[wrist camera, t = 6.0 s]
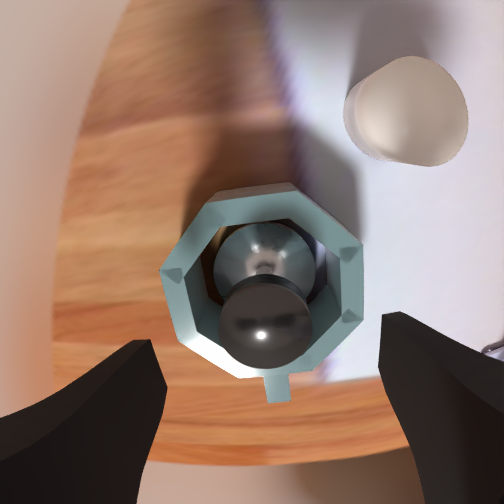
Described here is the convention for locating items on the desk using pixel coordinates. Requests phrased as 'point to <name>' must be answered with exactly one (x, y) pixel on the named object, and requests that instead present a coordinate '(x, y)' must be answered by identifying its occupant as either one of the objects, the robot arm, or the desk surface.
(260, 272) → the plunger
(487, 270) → the desk surface
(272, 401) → the grey-green octagonal bowl
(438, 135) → the cream rounded block
